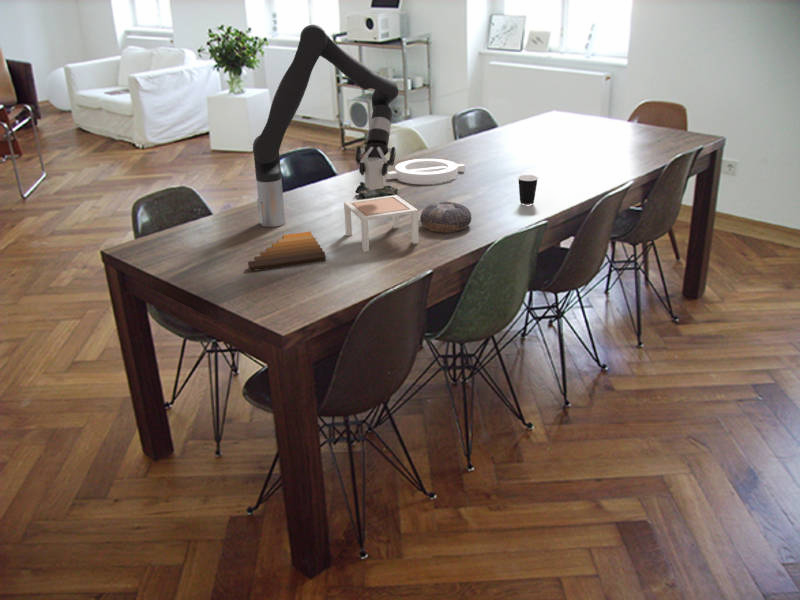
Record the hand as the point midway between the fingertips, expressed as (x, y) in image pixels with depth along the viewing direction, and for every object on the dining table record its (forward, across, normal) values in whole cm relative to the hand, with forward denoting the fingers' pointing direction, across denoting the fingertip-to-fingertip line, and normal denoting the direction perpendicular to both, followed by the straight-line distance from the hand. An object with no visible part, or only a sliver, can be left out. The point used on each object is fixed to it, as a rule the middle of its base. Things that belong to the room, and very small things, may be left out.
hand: (372, 174), depth 269 cm
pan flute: (+32, -27, 0) cm, 42 cm away
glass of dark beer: (-14, +51, +48) cm, 71 cm away
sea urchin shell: (+7, +23, +26) cm, 35 cm away
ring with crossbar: (-41, +3, +75) cm, 85 cm away
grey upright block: (+2, 0, +5) cm, 5 cm away
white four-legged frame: (+18, +3, +14) cm, 23 cm away
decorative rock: (-19, -11, +52) cm, 57 cm away
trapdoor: (+10, +3, +6) cm, 12 cm away
